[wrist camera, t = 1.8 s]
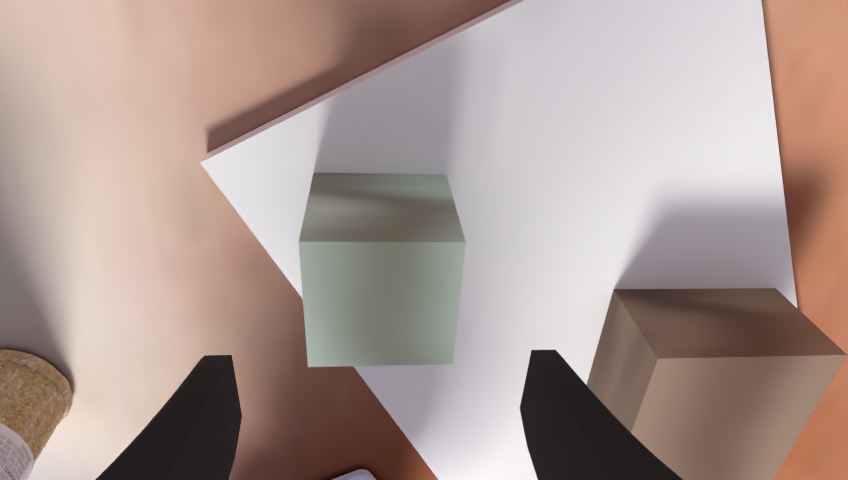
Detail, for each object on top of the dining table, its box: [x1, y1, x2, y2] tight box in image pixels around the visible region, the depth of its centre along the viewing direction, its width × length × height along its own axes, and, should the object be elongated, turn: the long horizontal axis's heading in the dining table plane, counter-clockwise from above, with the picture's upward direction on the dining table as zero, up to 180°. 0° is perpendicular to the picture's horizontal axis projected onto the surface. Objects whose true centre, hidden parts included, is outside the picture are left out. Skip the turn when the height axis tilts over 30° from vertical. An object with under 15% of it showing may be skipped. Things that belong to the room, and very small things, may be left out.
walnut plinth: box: [587, 288, 847, 480], centre depth 23 cm, size 7×7×4 cm
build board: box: [200, 0, 797, 480], centre depth 22 cm, size 18×22×1 cm
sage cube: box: [299, 173, 466, 367], centre depth 18 cm, size 4×4×4 cm
